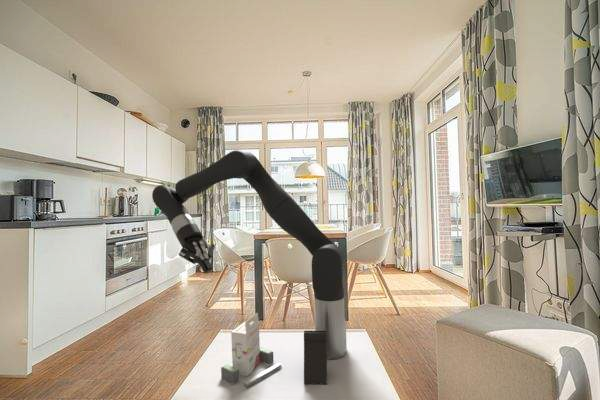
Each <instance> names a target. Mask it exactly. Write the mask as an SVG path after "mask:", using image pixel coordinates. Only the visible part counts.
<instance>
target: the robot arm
mask: <svg viewBox="0 0 600 400" xmlns="http://www.w3.org/2000/svg"><path fill="white" fill-rule="evenodd" d="M233 179H240V180H241V179H243V180H244V181H245V182H247V183H248V184H249V186H251V187H252V189H254V191H255V192H256V194H257V195H258V197H259V199H260V201H261V204H262V205H263V208H264V210H265V212H266V213H267V214H268V216H269V217H270V218H271V219H272V220H273V221H274V223H275V224H277V226H278V227H279V228H280V229H282V230H283V231H284V232H286V233H287V234H288V235H290V236H291V237H292V238H295V240H297V241H299V243H301V244H302V245H303V246H304V247H305V249H307V251H308V252H309V254H310V255H311V256H312V257H311V282H312V290H313V296H314V297H313V301H314V303H313V305H314V331H326V344H327V360H336V359H340V358H342V357H344V356H345V354H346V351H347V320H346V319H345V316H346V315H345V289H344V286H343V266H344V263H345V255H344V252H343V250H342V249H341V248H340V247H339V246H338V245H337V244H336V243H334V242H333V241H332V240H331V239H330V238H329V237H328V236H327V235H326V234H324V233H323V232H322V231H321V230H320V229H319V227H317V226H316V224H315V223H314V222H313V221H312V219H311V218H310V217H309V215H308V214H307V213H306V212H305V211H304V210H303V208H302V207H301V206H300V205H299V204H298V203H297V201H295V200H294V198H292V196H291V195H290V194H289V193H287V191H286V190H285V189H284V188H283V187H282V186H281V185H280V184H279V183H278V182H277V181H276V180H275V179H274V178H273V177H272V176H271V175H270V174H269V173H268V171H267V170H266V168H265V167H264V166H263V165H262V163H261V161H259V159H258V158H257V157H256V155H254V153H252V152H251V151H247V150H239V149H236V150H235V149H234V150H232V151H229V152H228V153H226V154H225V155H224V156H222V157H221V158H219V159H218V160H217V161H215V162H214V163H212V164H210V165H209V166H207V167H205V168H203V169H202V170H199V171H198V172H195V173H193V174H191V175H189V176H186V177H184V178H182V179H180V180H178V181H177V182H176V183H175V187H174V188H173V187H172V186H171V187H170V186H168V185H165V184H160V185H157V186H155V188H153V191H152V194H151V195H152V196H151V197H152V202H153V203H154V205H155V206H156V207H157V209H159V211H161V212H162V214H163V215H164V216H165V217H166V218H167V220H168V222H169V223H170V226H171V228H172V231H173V233H174V235H175V237H176V238H177V240H178V242H179V244H180V246H181V249H180V251H179V253H178V256H179V257H181V258H182V259H185V260H186V261H187V262H190V263H191V264H193V265H195V264H198V265H199V266H200V268H201V270H202V272H204V273H205V274H208V273H210V272H211V271H212V270H213V265H212V263H211V259H212V257H213V254H214V250H215V244H214V243H212V244H208V242H207V241H206V240H205V239H204V237H203V234H202V232H201V230H200V228H199V227H198V225H197V223H196V221H195V219H193V217H192V216H191V214H190V212H189V211H188V209H187V208H186V206H185V205H184V203H186V202H187V201H188V200H189V199H191V198H193V197H195V196H197V195H200V194H203V193H204V192H206V191H207V190H209V189H210V188H212V187H213V186H214V185H216V184H218V183H220V182H224V181H227V180H233Z"/></svg>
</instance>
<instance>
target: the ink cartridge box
mask: <svg viewBox="0 0 600 400" xmlns="http://www.w3.org/2000/svg"><path fill="white" fill-rule="evenodd" d="M259 322H260V321H259V314H258V312H256V313H255V314H253V315H252V316H251V317H249V318H248V319H247V320H246V321H244V322H242V323H241V324H240V325H239V326H237V327H236V328H235V329H233V330H232V331H231V332H230V333H231V335H230V337H231V354H232V355H231V360H232V367H234V368H236V369H238V370H239V376H250V374H251V373H252V372H253V370H254V369H255V368H256V367H257V365H259V364H260V362H261V361H260V348H261V344H260V343H261V342H260V323H259Z"/></svg>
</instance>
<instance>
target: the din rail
mask: <svg viewBox="0 0 600 400" xmlns="http://www.w3.org/2000/svg"><path fill="white" fill-rule="evenodd" d="M281 369H282V363H280V362H277V363H276V364H274V365H272V366H271V367H268V368H267V369H265V370H263V371H262V372H260V373H258V374H257V375H255V376H253V377H252V378H250V379H248V380H246V381H244V382H243V387H244V388H246V389H248V388H250V387H252V386H253V385H255V384H257V383H258V382H260V381H261V380H263V379H265V378H267V377H268V376H270V375H272V374H273V373H275V372H277V371H278V370H281Z"/></svg>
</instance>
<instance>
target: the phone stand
mask: <svg viewBox="0 0 600 400" xmlns="http://www.w3.org/2000/svg"><path fill="white" fill-rule="evenodd" d="M303 384H304V385H328V359H327V344H326V331H315V330H303Z"/></svg>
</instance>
